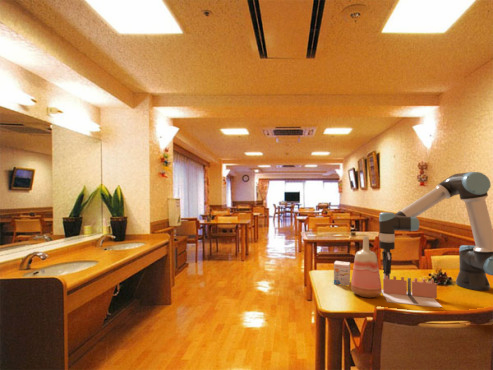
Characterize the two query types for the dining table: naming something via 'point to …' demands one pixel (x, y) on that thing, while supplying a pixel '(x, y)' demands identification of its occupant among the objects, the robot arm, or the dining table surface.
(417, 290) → the fixed fence panel
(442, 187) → the robot arm
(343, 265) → the ink box
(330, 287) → the dining table surface
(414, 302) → the card
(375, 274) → the vase
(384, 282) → the folding fence panel
